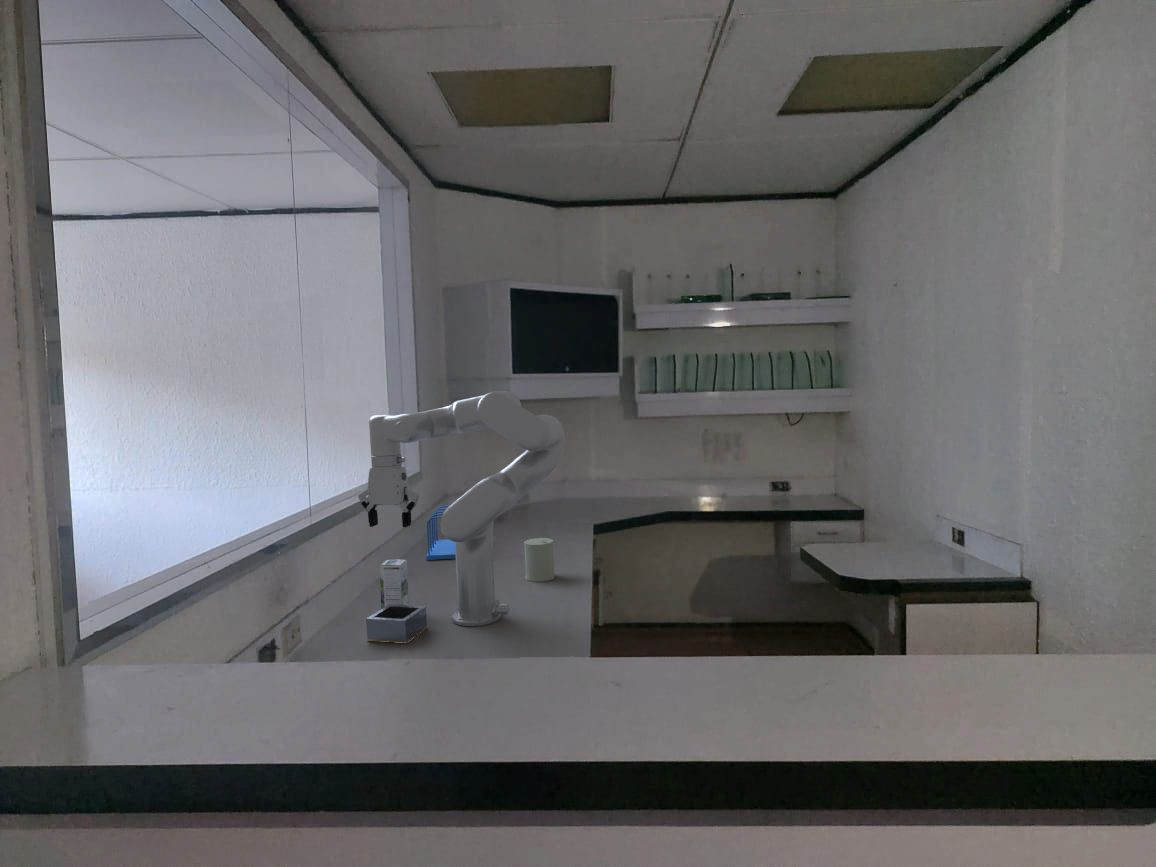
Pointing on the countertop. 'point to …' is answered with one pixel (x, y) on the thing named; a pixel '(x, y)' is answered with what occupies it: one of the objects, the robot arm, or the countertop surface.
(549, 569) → the can
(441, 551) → the file sorter
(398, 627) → the shadow box frame
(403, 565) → the syrup box
